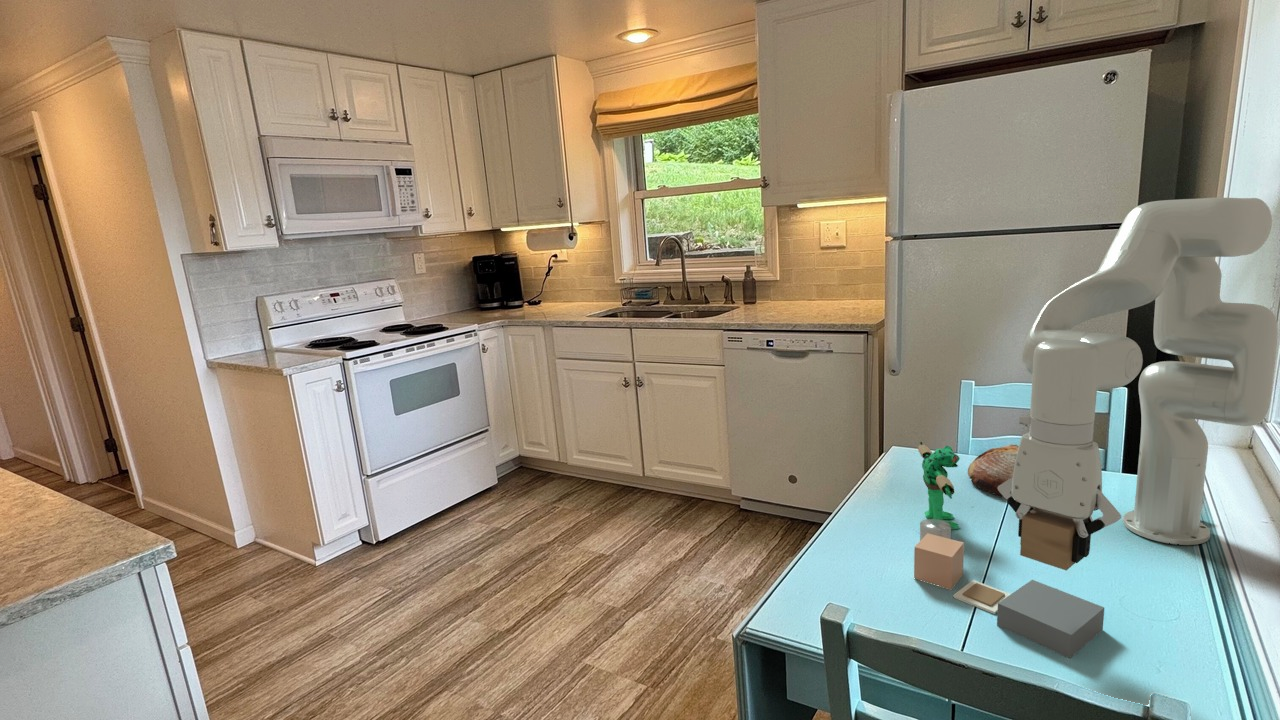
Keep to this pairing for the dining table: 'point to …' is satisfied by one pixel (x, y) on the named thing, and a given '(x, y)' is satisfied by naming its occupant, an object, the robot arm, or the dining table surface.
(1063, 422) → the robot arm
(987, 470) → the bread
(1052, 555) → the walnut cube
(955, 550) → the terracotta cube
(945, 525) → the grey tin
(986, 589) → the card
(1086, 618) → the base block
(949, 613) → the dining table surface
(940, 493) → the toy
